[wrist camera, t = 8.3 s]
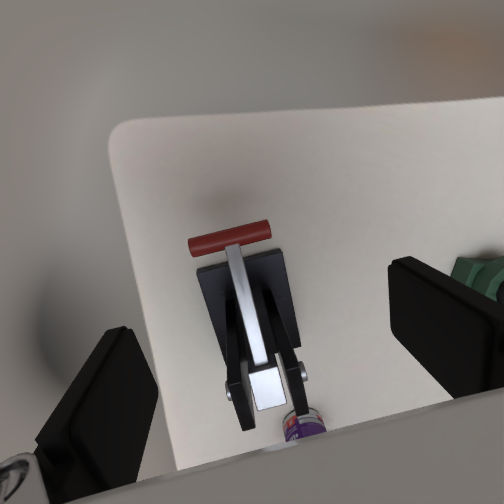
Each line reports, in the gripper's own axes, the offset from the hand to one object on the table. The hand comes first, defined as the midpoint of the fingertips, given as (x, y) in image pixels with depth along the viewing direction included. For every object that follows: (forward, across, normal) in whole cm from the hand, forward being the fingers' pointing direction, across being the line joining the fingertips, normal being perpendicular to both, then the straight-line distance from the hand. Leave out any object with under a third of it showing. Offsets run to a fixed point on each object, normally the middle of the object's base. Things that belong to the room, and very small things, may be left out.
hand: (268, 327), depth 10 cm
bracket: (+19, +1, +10) cm, 22 cm away
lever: (+11, +1, +6) cm, 12 cm away
